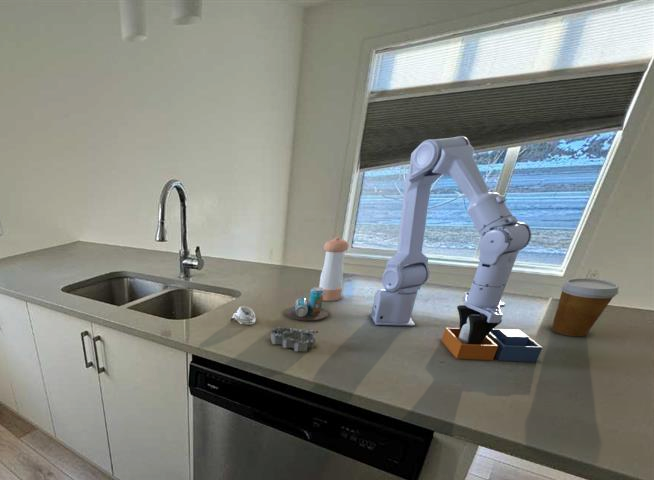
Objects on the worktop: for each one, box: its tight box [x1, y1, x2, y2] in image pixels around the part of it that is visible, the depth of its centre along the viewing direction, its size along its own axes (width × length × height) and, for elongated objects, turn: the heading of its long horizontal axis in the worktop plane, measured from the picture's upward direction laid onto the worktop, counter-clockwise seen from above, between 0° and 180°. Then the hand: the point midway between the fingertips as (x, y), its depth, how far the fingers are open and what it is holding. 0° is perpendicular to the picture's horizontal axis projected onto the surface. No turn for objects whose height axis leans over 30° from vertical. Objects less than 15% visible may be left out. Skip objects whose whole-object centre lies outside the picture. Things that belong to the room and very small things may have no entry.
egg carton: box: [269, 325, 319, 353], centre depth 105 cm, size 11×8×4 cm
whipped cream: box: [230, 305, 256, 326], centre depth 121 cm, size 8×7×5 cm
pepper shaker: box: [317, 236, 350, 302], centre depth 129 cm, size 7×7×19 cm
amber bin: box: [441, 327, 498, 361], centre depth 95 cm, size 7×10×4 cm
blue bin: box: [487, 328, 543, 363], centre depth 92 cm, size 7×10×4 cm
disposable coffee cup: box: [551, 277, 620, 337], centre depth 96 cm, size 10×10×12 cm
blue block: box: [496, 329, 530, 346], centre depth 92 cm, size 4×4×4 cm
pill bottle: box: [458, 315, 481, 345], centre depth 93 cm, size 4×4×8 cm
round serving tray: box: [285, 286, 329, 322], centre depth 121 cm, size 12×12×8 cm
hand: (469, 340), depth 94 cm, fingers closed on pill bottle, 4 cm apart
